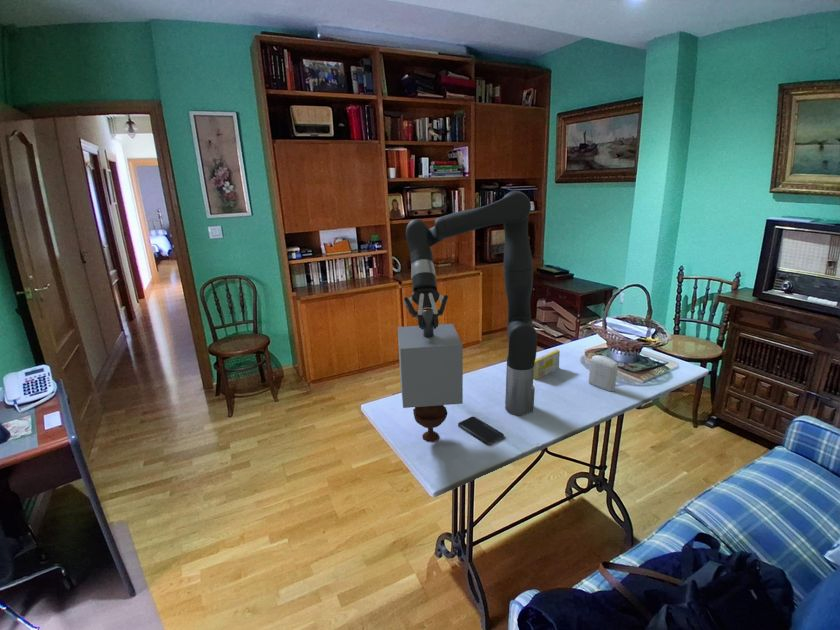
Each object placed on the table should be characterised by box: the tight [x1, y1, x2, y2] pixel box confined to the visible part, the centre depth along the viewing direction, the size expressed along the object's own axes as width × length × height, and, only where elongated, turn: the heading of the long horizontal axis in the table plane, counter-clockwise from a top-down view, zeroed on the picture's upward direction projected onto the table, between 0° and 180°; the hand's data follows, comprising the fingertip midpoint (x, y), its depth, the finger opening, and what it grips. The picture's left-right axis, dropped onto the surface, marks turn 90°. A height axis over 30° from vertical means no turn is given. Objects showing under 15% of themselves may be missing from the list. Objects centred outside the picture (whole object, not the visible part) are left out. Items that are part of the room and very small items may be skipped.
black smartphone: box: [457, 416, 505, 446], centre depth 143 cm, size 8×1×15 cm
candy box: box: [533, 349, 561, 381], centre depth 181 cm, size 16×2×8 cm, turn 128°
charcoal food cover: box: [397, 307, 464, 409], centre depth 132 cm, size 18×18×27 cm
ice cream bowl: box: [412, 405, 448, 443], centre depth 139 cm, size 11×11×15 cm
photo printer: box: [588, 354, 619, 392], centre depth 168 cm, size 10×4×12 cm, turn 38°
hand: (428, 327), depth 127 cm, fingers closed on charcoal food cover, 3 cm apart
